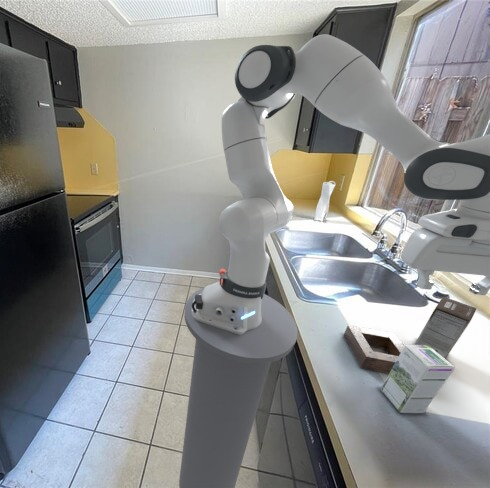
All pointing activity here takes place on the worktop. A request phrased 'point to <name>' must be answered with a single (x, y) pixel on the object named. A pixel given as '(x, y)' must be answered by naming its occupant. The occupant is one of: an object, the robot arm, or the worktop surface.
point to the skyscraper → (324, 202)
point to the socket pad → (365, 338)
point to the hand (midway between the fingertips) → (449, 290)
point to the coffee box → (446, 325)
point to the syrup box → (416, 378)
